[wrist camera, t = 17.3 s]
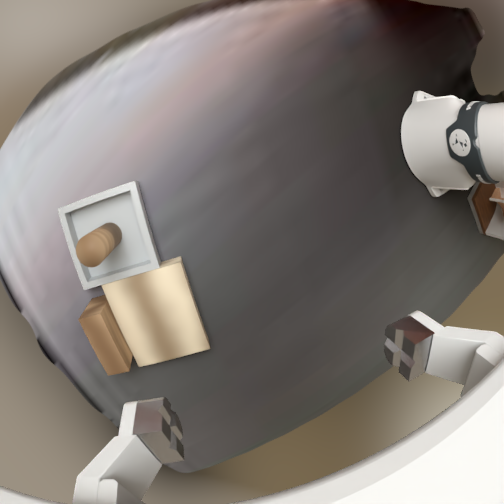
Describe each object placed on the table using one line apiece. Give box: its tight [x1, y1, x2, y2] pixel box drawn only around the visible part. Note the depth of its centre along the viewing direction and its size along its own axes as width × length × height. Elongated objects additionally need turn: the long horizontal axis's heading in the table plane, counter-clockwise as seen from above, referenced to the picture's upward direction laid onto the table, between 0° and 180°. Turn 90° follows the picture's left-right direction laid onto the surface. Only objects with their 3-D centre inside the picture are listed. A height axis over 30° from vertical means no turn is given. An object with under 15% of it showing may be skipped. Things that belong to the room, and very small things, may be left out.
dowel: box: [76, 222, 122, 267], centre depth 26 cm, size 3×3×8 cm
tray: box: [58, 181, 161, 290], centre depth 29 cm, size 10×10×2 cm
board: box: [102, 256, 210, 367], centre depth 33 cm, size 10×12×3 cm
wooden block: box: [79, 295, 133, 375], centre depth 30 cm, size 3×8×6 cm, turn 13°
